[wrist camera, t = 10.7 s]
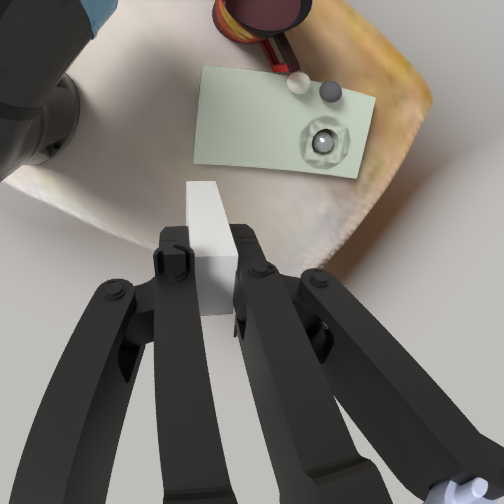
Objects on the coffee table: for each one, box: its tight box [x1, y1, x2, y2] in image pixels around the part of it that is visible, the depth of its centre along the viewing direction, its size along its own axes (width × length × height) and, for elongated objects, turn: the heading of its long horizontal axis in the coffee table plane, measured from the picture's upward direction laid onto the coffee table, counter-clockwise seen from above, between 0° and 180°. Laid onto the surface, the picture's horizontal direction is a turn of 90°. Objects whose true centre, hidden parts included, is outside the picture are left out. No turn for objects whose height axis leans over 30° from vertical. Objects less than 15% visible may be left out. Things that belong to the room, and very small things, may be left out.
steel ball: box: [313, 132, 333, 152], centre depth 43 cm, size 3×3×3 cm
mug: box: [212, 0, 312, 72], centre depth 27 cm, size 10×14×12 cm
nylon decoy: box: [287, 72, 311, 94], centre depth 35 cm, size 3×3×3 cm
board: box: [193, 65, 376, 179], centre depth 41 cm, size 26×14×2 cm, turn 82°
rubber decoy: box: [319, 81, 342, 103], centre depth 36 cm, size 3×3×3 cm
